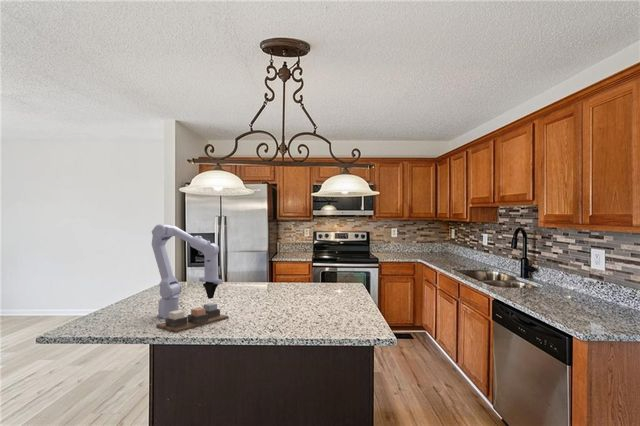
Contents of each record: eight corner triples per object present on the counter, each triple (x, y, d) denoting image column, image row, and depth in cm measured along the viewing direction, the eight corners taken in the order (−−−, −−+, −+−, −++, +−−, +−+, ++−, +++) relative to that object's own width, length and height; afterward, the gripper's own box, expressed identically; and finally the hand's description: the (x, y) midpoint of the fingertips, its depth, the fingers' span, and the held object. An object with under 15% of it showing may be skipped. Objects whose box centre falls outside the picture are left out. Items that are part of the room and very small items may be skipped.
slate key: (203, 311, 179) (203, 304, 179) (211, 310, 182) (211, 302, 182) (209, 313, 176) (209, 305, 176) (217, 311, 180) (217, 304, 180)
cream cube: (168, 320, 164) (168, 312, 164) (177, 318, 168) (177, 310, 168) (174, 322, 161) (174, 313, 161) (183, 319, 165) (184, 311, 165)
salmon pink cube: (191, 317, 170) (191, 309, 170) (199, 314, 173) (199, 307, 173) (197, 318, 167) (197, 310, 167) (205, 316, 171) (205, 308, 171)
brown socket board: (156, 326, 164) (156, 317, 164) (209, 313, 187) (209, 305, 187) (175, 332, 156) (175, 323, 156) (228, 318, 179) (228, 309, 179)
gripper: (193, 268, 180) (193, 297, 180) (214, 271, 172) (213, 301, 172) (206, 267, 186) (206, 295, 186) (226, 269, 178) (226, 299, 177)
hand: (210, 298), depth 179 cm, fingers closed
